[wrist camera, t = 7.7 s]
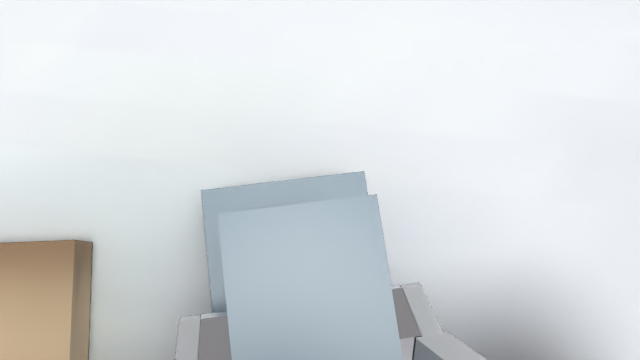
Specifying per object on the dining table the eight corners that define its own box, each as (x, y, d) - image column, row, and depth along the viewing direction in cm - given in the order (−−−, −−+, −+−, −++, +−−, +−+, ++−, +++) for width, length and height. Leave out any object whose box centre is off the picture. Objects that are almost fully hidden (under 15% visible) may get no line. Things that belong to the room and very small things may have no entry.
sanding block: (388, 447, 16) (506, 632, 8) (240, 474, 16) (199, 704, 7) (349, 187, 18) (413, 113, 9) (213, 204, 17) (155, 140, 9)
